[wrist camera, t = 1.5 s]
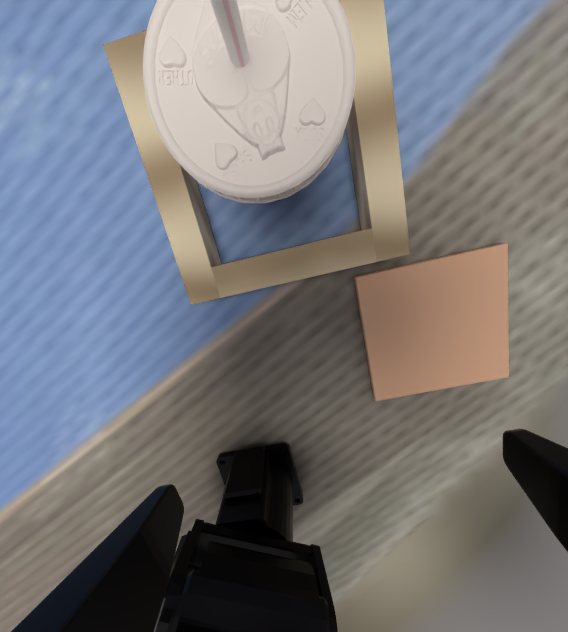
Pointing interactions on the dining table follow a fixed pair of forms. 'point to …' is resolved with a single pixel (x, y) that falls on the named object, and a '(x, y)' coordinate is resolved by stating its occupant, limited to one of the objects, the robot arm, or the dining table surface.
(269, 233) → the dining table surface
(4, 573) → the dining table surface
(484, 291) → the coaster
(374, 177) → the holder
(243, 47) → the smoothie
